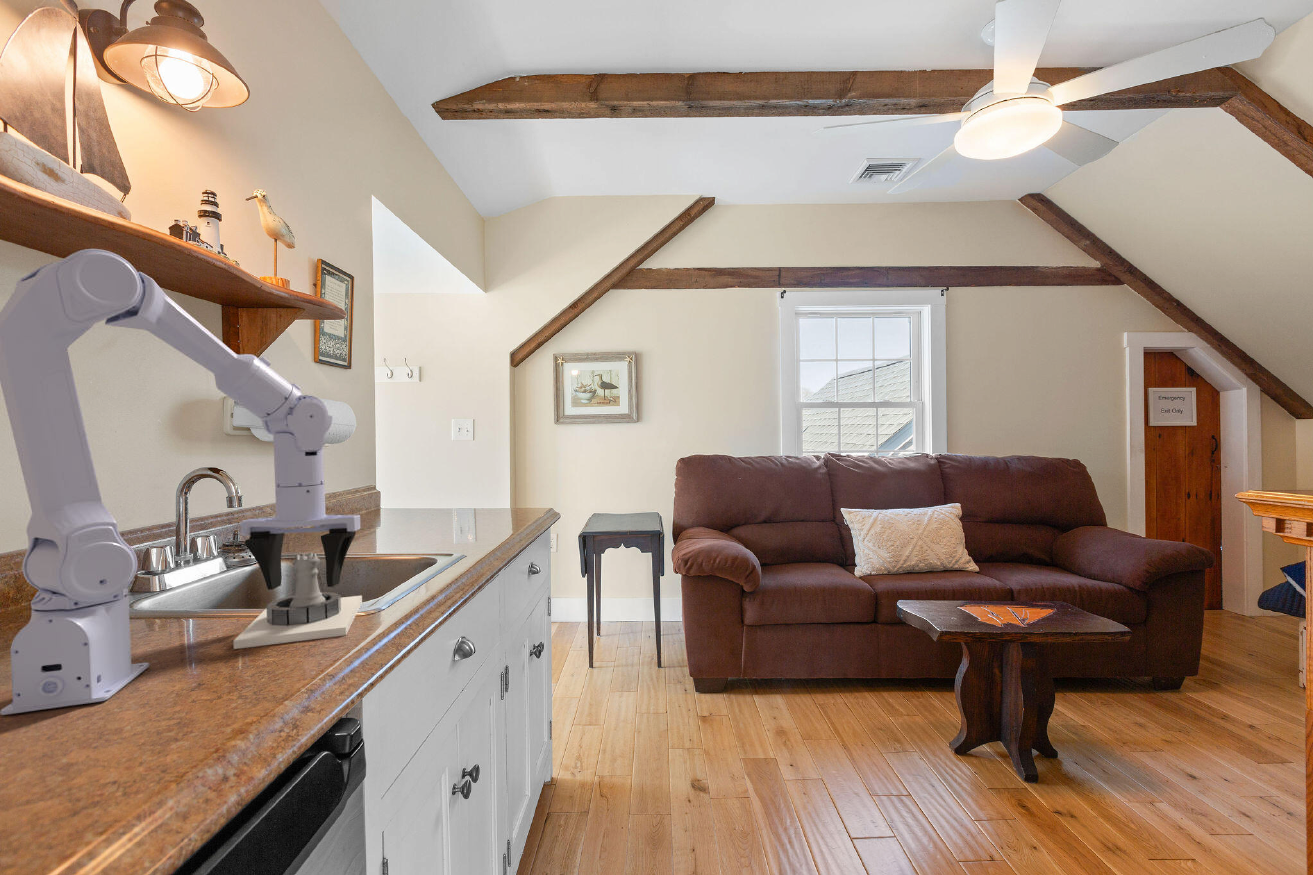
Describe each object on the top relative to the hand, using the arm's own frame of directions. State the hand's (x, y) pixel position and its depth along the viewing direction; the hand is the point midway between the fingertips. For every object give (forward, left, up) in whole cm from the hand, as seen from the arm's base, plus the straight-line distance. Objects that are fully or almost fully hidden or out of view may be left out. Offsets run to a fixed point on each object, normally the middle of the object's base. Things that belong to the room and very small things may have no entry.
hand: (304, 586), depth 82 cm
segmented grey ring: (0, 0, -5) cm, 5 cm away
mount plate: (0, 0, -5) cm, 5 cm away
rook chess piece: (+1, 0, -4) cm, 4 cm away
